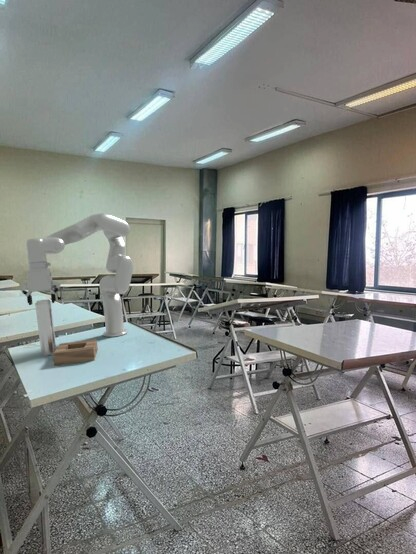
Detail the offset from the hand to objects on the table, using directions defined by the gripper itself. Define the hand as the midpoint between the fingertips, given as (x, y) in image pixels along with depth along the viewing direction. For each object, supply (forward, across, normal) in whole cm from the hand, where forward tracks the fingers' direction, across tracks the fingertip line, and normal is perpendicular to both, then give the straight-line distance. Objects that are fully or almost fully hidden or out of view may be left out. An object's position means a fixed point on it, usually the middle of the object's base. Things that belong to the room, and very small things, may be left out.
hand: (42, 303), depth 170 cm
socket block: (+23, -15, +12) cm, 30 cm away
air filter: (+24, -1, 0) cm, 24 cm away
